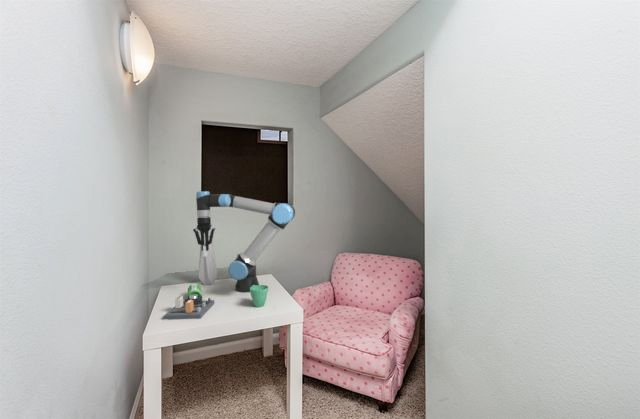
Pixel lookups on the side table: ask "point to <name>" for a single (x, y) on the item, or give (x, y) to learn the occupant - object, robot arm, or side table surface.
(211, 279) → the vase
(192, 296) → the button
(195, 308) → the panel
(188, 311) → the fader
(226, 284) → the side table surface
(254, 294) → the mug
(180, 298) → the fader
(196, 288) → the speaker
